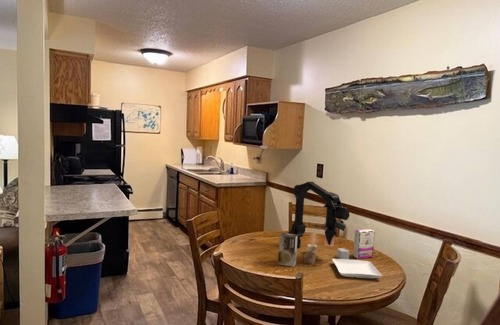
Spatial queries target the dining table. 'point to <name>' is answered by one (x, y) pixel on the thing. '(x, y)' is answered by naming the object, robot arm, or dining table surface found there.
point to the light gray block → (343, 253)
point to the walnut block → (309, 257)
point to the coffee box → (287, 249)
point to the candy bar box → (363, 243)
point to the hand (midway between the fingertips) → (329, 243)
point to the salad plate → (356, 268)
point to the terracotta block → (331, 242)
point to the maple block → (312, 248)
